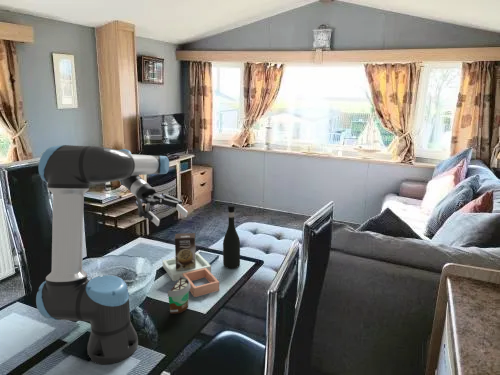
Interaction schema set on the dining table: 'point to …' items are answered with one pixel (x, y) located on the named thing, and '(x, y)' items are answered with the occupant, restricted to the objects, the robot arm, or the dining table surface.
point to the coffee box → (185, 251)
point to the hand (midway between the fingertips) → (173, 218)
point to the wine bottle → (231, 243)
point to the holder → (205, 288)
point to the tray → (175, 275)
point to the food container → (179, 296)
